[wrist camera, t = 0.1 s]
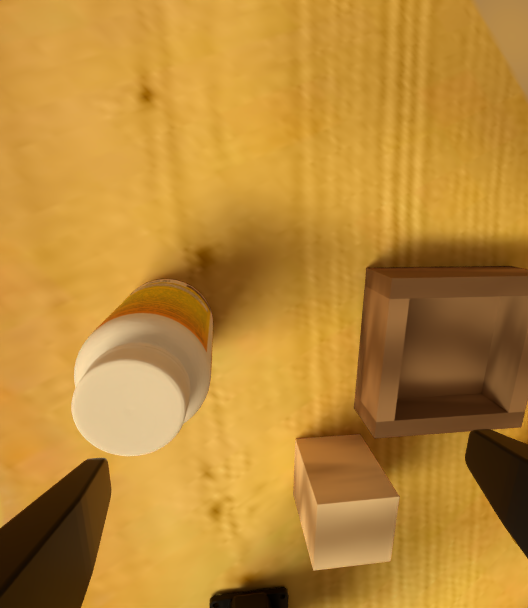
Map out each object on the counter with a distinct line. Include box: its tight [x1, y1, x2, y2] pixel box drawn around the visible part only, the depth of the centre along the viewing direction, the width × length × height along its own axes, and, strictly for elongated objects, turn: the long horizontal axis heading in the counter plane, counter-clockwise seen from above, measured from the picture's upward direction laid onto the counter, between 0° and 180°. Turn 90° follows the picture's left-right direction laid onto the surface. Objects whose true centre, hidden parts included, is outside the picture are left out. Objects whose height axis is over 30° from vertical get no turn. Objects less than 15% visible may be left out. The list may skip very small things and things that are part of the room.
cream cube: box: [293, 434, 399, 571], centre depth 24 cm, size 5×5×6 cm
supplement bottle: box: [72, 279, 213, 456], centre depth 17 cm, size 6×6×10 cm
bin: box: [354, 266, 528, 438], centre depth 23 cm, size 10×10×4 cm
